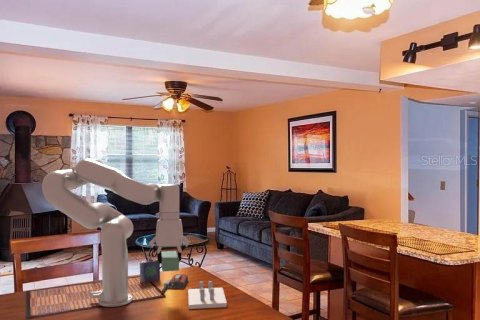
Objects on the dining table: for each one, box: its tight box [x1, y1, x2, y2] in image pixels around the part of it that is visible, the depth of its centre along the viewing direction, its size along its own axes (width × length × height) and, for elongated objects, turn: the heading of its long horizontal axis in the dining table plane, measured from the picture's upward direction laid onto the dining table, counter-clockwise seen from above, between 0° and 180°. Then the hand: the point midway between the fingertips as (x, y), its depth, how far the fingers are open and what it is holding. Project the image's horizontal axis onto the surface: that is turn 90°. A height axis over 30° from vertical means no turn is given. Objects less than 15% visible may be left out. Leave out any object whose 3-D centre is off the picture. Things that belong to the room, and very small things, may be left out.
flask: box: [139, 256, 161, 284], centre depth 186 cm, size 9×3×11 cm, turn 122°
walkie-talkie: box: [160, 273, 189, 293], centre depth 178 cm, size 9×4×20 cm
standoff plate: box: [187, 280, 228, 310], centre depth 161 cm, size 14×18×6 cm
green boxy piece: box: [160, 250, 180, 272], centre depth 159 cm, size 6×14×4 cm, turn 14°
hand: (169, 262), depth 159 cm, fingers closed on green boxy piece, 6 cm apart
